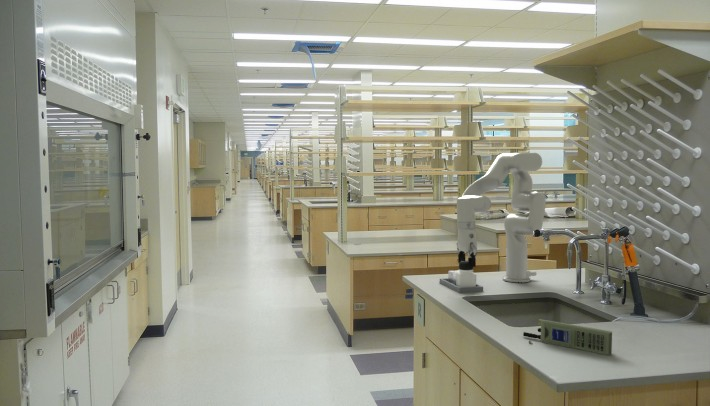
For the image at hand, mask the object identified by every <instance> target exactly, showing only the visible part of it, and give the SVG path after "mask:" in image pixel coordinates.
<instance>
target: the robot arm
mask: <svg viewBox="0 0 710 406" xmlns="http://www.w3.org/2000/svg"><path fill="white" fill-rule="evenodd" d="M542 165H543V158H542V156H541V154H539V153H537V152H510V153H509V152H505V153H501V154H498V155H497V156H496V158H495V159H494V161H493V162H492V163H491V165H490V166H489V168H488V170H487V171H486V173H485V174H484V175H483V176H481V177H480V178H478V179H477V180H475V181H474V182H473V183H470V184H469V185H468V187H467V188H466V189H465V190H464V192H463V193H462V195H461V197H458V198H457V199H456V229H457V242H456V250H457V262H458V264H459V262H461V261H466V254H467V255H468V258H467V261H468V267H473V268H475V267H476V261H477V259H476V258H477V255H478V254H477V252H478V244H477V243H478V242H477V233H476V213H479V214H480V213H481V214H484V213H487V212H488V211H490V209H491V208H492V200H491V198H490V197H488V196H486V195H483V194H485V193H487V192H490V191H493V190H495V189H498V188H500V187H501V186H502V184H503V183H504V182H505V180H506V178H507V177H508V175H509V174H510V173H511V175H512V178H513V187H512V192H511V193H512V194H511V201H510V206H511V209H513V210H514V211H518V212H526V213H527V212H528V213H527V214H526V213H510V214H508V215H507V216H505V218H504V220H503V221H504V223H503V225H504V226H503V227H504V231H505V237H506V238H505V239H506V240H505V241H506V242H505V244H506V249H505V250H506V251H505V252H506V253H505V256H506V257H505V262H506V264H505V267H506V268H505V275H504V276H502V280H503V281H504V282H509V283H510V282H511V283H518V282H519V283H521V282H522V283H528V282H531V276H532V277H535V276H537V271H529V270H528V240H527V238H526V236H534V235H533V231H534V230H536V229H541V230H542V228H543V223H544V217H545V210H546V205H547V204H546V198H545V195H544V194H543V193H542V192H540V191H535V190H534V191H533V183H534V182H533V179H532V176H531V175H530V172H537V171H538V170H540V169H541V167H542ZM522 283H521V284H522Z"/></svg>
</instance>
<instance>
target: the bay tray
mask: <svg viewBox="0 0 710 406" xmlns="http://www.w3.org/2000/svg"><path fill="white" fill-rule="evenodd" d="M439 284H440V285H442V286H444V287H447V288H448V289H450V290H452V291H455V292H457V293H458V294H466V293H480V292H481V293H482V292H484V286H483V285H481V284H478V283H476V287H462V288H460V287H458V286H456V283H450V282H448V277H447V278H445V277H444V278H439Z"/></svg>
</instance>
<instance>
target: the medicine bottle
mask: <svg viewBox="0 0 710 406" xmlns="http://www.w3.org/2000/svg"><path fill="white" fill-rule="evenodd" d="M458 270H459V271H457V272H456V286H458V287H460V288H462V287H476V284H477V274H476V273H475V272H474V267H468V260H465V261H461V262H459V263H458Z"/></svg>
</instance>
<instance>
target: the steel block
mask: <svg viewBox="0 0 710 406" xmlns="http://www.w3.org/2000/svg"><path fill="white" fill-rule="evenodd" d="M457 271H459V269H457V270H448V277H447V278H448V282H450V283H456V272H457Z"/></svg>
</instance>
